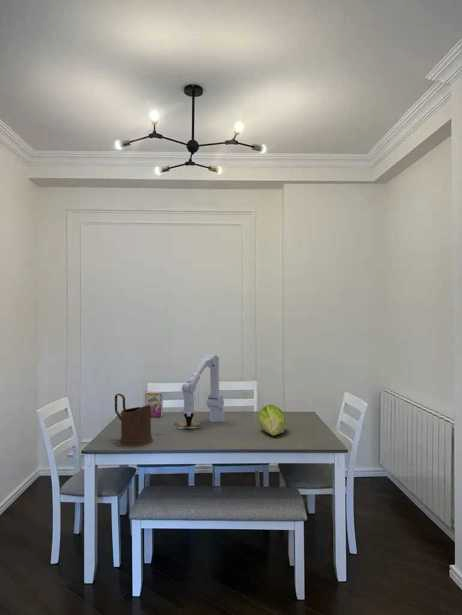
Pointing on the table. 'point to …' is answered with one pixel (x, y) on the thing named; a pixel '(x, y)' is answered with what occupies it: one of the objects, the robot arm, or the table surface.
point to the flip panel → (188, 426)
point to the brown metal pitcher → (134, 424)
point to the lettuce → (272, 420)
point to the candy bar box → (155, 403)
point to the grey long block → (176, 422)
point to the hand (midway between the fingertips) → (188, 426)
